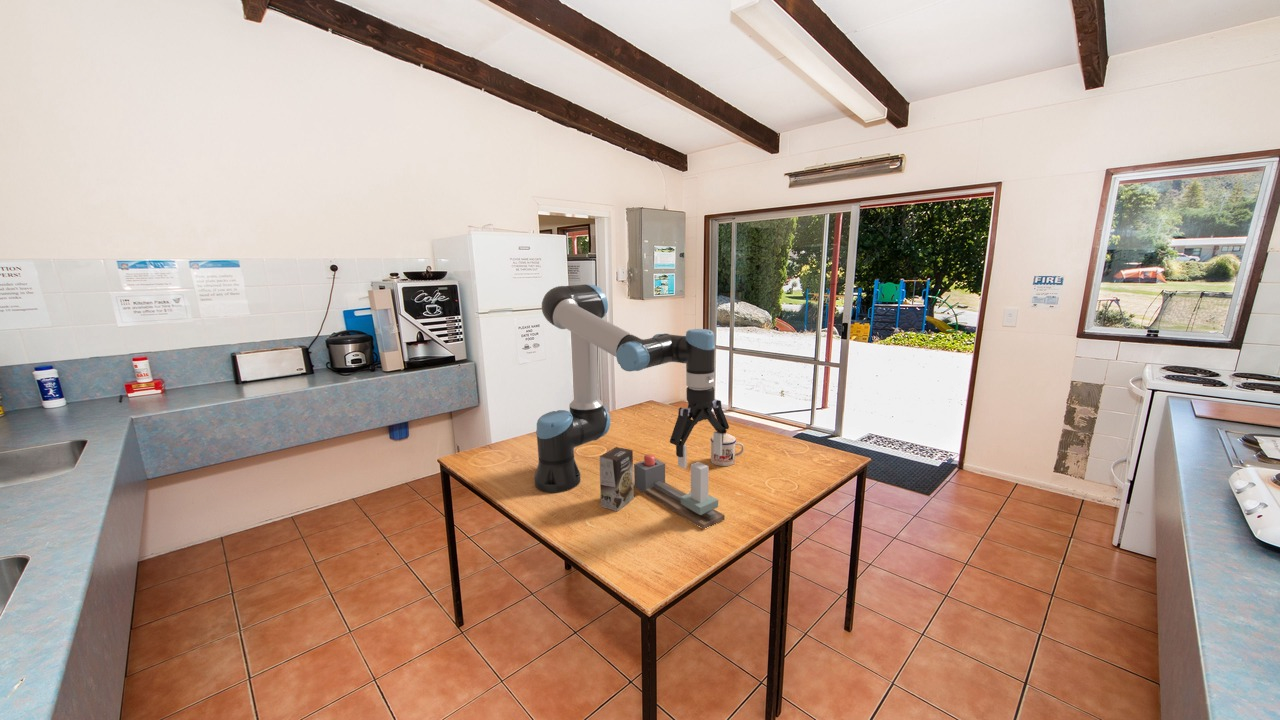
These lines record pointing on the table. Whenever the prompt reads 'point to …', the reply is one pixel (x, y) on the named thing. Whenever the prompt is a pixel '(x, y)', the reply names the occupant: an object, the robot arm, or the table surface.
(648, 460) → the button
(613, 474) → the coffee box
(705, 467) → the carriage
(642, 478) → the red push button box
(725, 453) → the teacup with lid
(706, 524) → the rail base
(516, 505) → the table surface
